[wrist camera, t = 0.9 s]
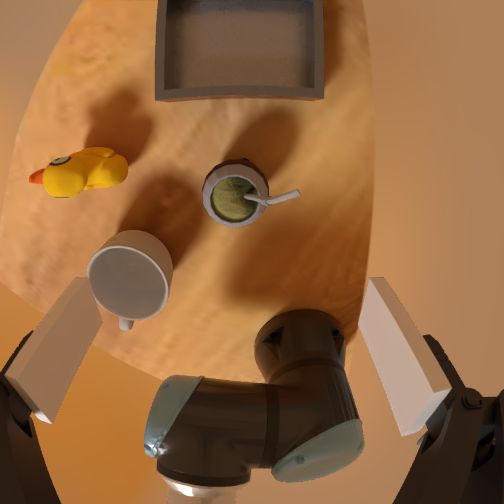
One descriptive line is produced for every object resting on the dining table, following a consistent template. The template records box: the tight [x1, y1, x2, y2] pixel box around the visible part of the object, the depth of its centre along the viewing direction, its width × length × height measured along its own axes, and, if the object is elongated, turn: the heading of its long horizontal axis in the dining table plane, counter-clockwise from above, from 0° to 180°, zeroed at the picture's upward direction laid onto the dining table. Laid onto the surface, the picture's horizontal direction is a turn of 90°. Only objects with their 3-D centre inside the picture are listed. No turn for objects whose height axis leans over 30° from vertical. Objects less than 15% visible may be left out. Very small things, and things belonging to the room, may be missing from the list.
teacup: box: [86, 230, 173, 331], centre depth 37 cm, size 14×11×8 cm
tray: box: [155, 0, 324, 102], centre depth 25 cm, size 14×17×6 cm
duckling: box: [29, 147, 128, 198], centre depth 29 cm, size 11×5×10 cm, turn 82°
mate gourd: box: [202, 158, 301, 227], centre depth 28 cm, size 8×8×15 cm
